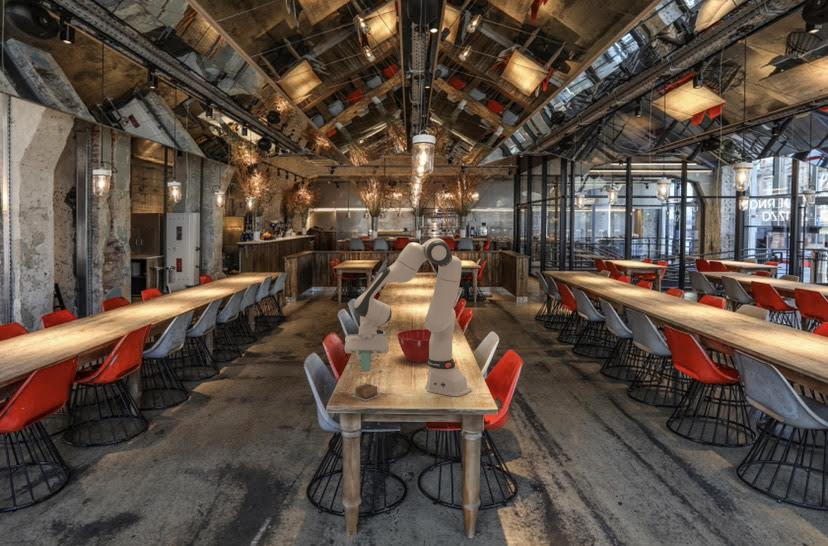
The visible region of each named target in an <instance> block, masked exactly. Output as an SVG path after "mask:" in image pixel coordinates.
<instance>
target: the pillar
mask: <svg viewBox="0 0 828 546" xmlns="http://www.w3.org/2000/svg"><path fill="white" fill-rule="evenodd" d="M371 354H372V353H371V352H362V353H360V356H361V361H360V372H362V373H363V372H368V373H369V372H370V371H371V367H372V366H371V364H372V363H371V362H372V361H370V356H372V355H371Z"/></svg>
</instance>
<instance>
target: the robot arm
mask: <svg viewBox="0 0 828 546" xmlns="http://www.w3.org/2000/svg"><path fill="white" fill-rule="evenodd" d="M426 261H430V262H431V263H433V264H434V265H437V266H438V268H437V269H438V272H437V276H436V280H435V285H434V291H433V294H432V298H431V300H430V303H429V306H428V310H427V314H426V316H425V318H424V325H425V329H428V330H429V331H431V337H430V341H429V358H428V363H427V365H428V374H427V380H426V385H425V388H426V392H430V393H434V394H440V395H445V396H450V397H454V398H455V397H461V395H462V396H465V395H467V394H469V393H471V392H472V391H471V390H473V388H472V386H469V385H468V382H467V378H466V376H465V374H463V373H462V372H461V371H460V370H459V369H458V367H456V364H457V363H458V362H457V360H455V361H454V358H453V341H454V339H453V338H454V332H455V321H456V317H457V315H456V310H455V309H454V306H455V304H456V303H455V302H456V300H457V298H458V293H459V289H460V283H461V278H462V270H463V269H462V267H463V266H462V263H463V262H462V261H461V258H459V257H457V256H455V255H452V253H451V249H450V247H449V245H448V243H447V242H446V241H445V240H443V239H441V238H439V237H431V238H429V239H427V240H425V241H423V242H421V243H418V242H414V241H413V242H409V243H408V244H407V245H406V246H405V247H404V248H403V249H402V251H401V252H400V253H399V255H398V256H397V258H396V260H395V262H393V263H392V264H391V265H389V266H386V267H384V268H383V269H381V270H380V271H379V273H378V274H377V275H376V276H375V277H374V279H373V280H372V281H371V282H370V284H369V285H368V286H367V287H366V288H365V290H363V291H362V293H361V294H360V295H359V296H357V298H356V299H355V301H354V302H353V310H354V312H355V315H357V316H359V324H360V325H359V327H358V334H351V333H350V334H347V335H346V336H345V338H344V341H345V343H344V352H345V353H346V354H356V357H357V361H358V362H361V353H362V352H371V354H372V355H371V356H370V361H371V362H374V359H375V357H376V356H377V354H378V355H379V354H384V355H385V354H388V353H389V340H388V338H387V332H386V330H384V329H380V328H378V327H381V326H384V325H385V324H387V323H388V322H390V320H391V318H392V314H393V313H392V308H391V306H390V305H389V304H387V303H384V301H383V302H382V301H380V300H377V298H374V297H375V296H376V294H377V293H378V292H379V291H380V290H381V288H382V287H383V286H385V285H386V284H390V283H399V284H402V283H407V282H410V281H412V280H413V279H414V277H415V276H416V274H417V273H418V271H419V269H420V267H421V266H422V265H423V263H424V262H426ZM470 391H471V392H470Z"/></svg>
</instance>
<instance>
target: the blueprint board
mask: <svg viewBox="0 0 828 546" xmlns="http://www.w3.org/2000/svg"><path fill="white" fill-rule="evenodd" d="M383 396H385V394H383V393H381V392H377V395H376V396H373V397H371V398H368V399H364V398H361V397H358V396H356V395H355V393H351V394H349V395H348V397H349V398H351V399H352V398H353V399H356V400H358V401H362V402H365V403H368V402H370V401H372V400H376V399H378V398H381V397H383Z"/></svg>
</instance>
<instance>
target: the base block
mask: <svg viewBox="0 0 828 546" xmlns="http://www.w3.org/2000/svg"><path fill="white" fill-rule="evenodd" d="M377 393H378V386H377V385H374V384H369V383H363V384H360V385H358V386H355V392H354V394H355V395H356V396H358V397H361V398H364V399H368V398H371V397H373V396H376V395H377Z"/></svg>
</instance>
